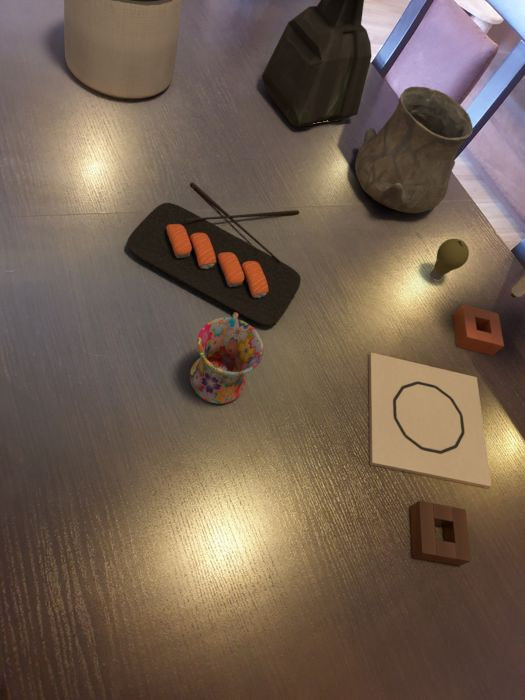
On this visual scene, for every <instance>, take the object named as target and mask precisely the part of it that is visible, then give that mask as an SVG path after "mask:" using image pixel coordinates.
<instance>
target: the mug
mask: <svg viewBox="0 0 525 700" xmlns="http://www.w3.org/2000/svg"><path fill="white" fill-rule="evenodd" d="M196 341H197V343H196V345H197V350H198V353H199V355H200V357H199V358H197V360H196V361H195V362H194V363H193V364H192V366H191V369H190V371H189V380H190V381H189V382H190V384H191V387H192V389H193V391H194V392H195V393H196V394H197V395H198V396H199V397H200V398H201V399H202V400H204V401H206V402H209V403H211V404H217V405H218V404H219V405H220V404H227V403H231V402H232V401H235V400H236V399H238V398H239V397H240V396H241V395H242V393H243V391H244V390H245V385H246V376H245V374H248V373H250V372H251V371H253V370H255V369H256V368H257V367H258V366H259V365H260V363H261V361H262V360H263V356H264V343H263V340H262V337H261V336H260V334H259V332H257V330H256V329H255V328H254V327H253V326H252V325H250V324H249V323H248V322H246V321H244V320H242V319H239V313H237V312H235V311H234V312H233V313H232V315H231V317H230V316H229V317H227V316H225V317H218V318H214V319H212V320H210V321H208V322H207V323H206V324H204V326H202V327H201V329H200V331H199V333H198V336H197V340H196Z"/></svg>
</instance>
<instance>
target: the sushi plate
mask: <svg viewBox="0 0 525 700" xmlns="http://www.w3.org/2000/svg"><path fill="white" fill-rule="evenodd" d="M189 184H191V185H190V187H191V186H193V187H194V188H195V189H194V188H193V187H192V188H193V189H194V190H195V191H196V190H197V191H198V192H197V191H196V192H197V193H198V194H199V193H200V196H201V197H203V198H204V199H205V200H206V201H207V202H208V203H210V205H212V206H213V207H215V209H217V210H218V211H219V212H220V213H221V214H222V215H221V216H206V217H201V216H199V215H198V214H196V213H194V212H193V211H190V210H188V209H186V208H184V207H183V206H180V205H179V204H175V203H173V202H163V203H161V204H159V205H157V206H156V207H155V208H154V209H153V210H152V211H150V213H148V215H147V216H146V217H145V218H144V219H143V220H141V222H140V223H139V224H138V225H137V226H136V227H135V229H134V230H133V231H132V232H131V234H130V235H129V236H128V238H127V241H126V247H127V249H128V250H129V251H130V253H132V254H133V255H134V256H136V257H137V258H139V259H141V260H142V261H144V262H145V263H148V264H149V265H150V266H153V267H154V268H156V269H158V270H159V271H161V272H163V273H165V274H166V275H169V276H170V277H172V278H174V279H175V280H178V281H179V282H181V283H183V284H184V285H186V286H188V287H190V288H192V289H194V290H196V291H197V292H200V293H201V294H203V295H204V296H206V297H208V298H210V299H211V300H214V301H216V302H218V303H219V304H221V305H223V306H225V307H226V308H228V309H229V310H232V311H234V312H236V313H238V315H241V316H243V317H245V318H246V319H249V320H251V321H253V322H255V323H257V324H259V325H262V326H267V327H270V326H273V325H276V324H277V323H278V322H279V321H280V320H281V318H282V317H283V316H284V314H285V313H286V311H287V309H288V308H289V306H290V304H291V303H292V301H293V299H294V298H295V296H296V294H297V292H298V290H299V288H300V285H301V275H300V274H299V272H297V271H296V269H294V268H292V267H291V266H290V265H288V264H286V263H284V262H283V261H281V260H280V259H279V258H278V257H277V256H276V255H275V254H273V253H272V252H271V251H270V250H269V249H268V248H267V247H266V246H264V245H263V244H262V243H261V242H259V240H258V239H257V238H255V237H254V236H253V235H252V234H251V233H250V232H248V231H247V229H245V228H244V226H242V225H241V224H240V223H238V222H237V220H235V219H239V218H259V217H260V218H261V217H275V216H279V217H280V216H293V215H299V214H300V211H299V210H298V209H295V210H282V211H281V210H280V211H269V212H268V211H267V212H257V213H248V214H233V215H230V214H229V213H228V212H227V211H225V210H224V209H223V208H222V207H221V206H220V205H219V204H218V203H217V202H215V200H214V199H212V198H211V197H210V196H209V195H208V194H207V193H206V192H204V190H202V189H201V187H199V186H198V185H197V184H196V183H195V182H193V181H192V182H190V183H189ZM222 219H228V220H230V221H231V222H232V223H233V224H234V225H236V227H238V228H239V229H240V230H241V231H243V232H244V233H245V234H246V235H247V236H248V237H250V239H251V240H253V241H254V242H255V243H256V244H257V245H259V246H260V247H261V248H262V249H263V250H264V251H263V250H262V249H259V248H257V247H256V246H254V245H252V244H250V243H249V242H247V241H245V240H243V239H242V238H239V237H237V236H235V235H234V234H232V233H231V232H228V231H227V230H225V229H223V228H221V227H220V226H218V225H216V224H214V223H212V222H210V221H209V220H222Z"/></svg>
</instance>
